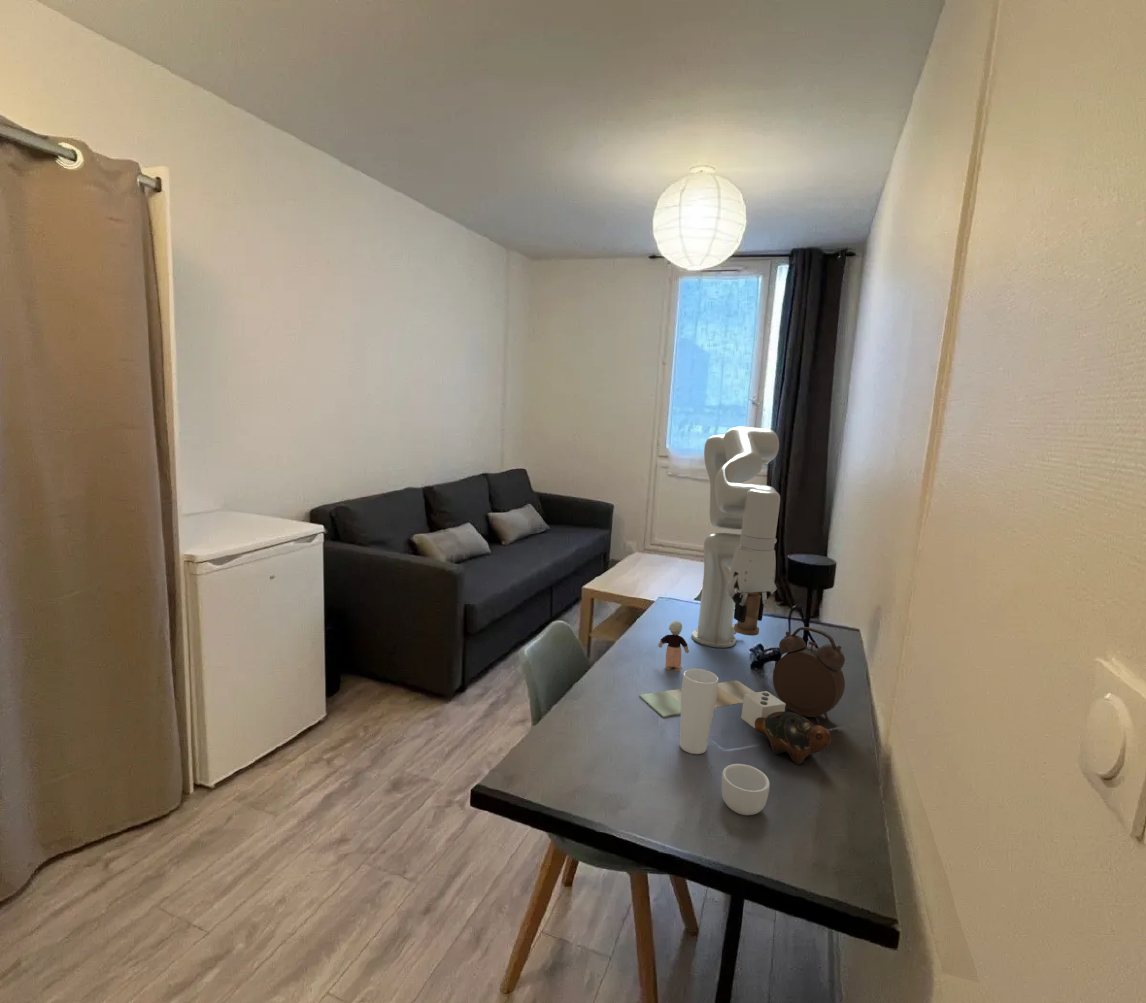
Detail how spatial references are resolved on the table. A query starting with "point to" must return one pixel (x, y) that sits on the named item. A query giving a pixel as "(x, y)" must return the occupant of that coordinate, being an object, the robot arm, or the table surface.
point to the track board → (671, 700)
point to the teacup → (744, 788)
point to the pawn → (750, 616)
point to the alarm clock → (809, 675)
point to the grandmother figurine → (674, 646)
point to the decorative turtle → (793, 734)
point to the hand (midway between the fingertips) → (747, 618)
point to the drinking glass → (697, 709)
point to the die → (760, 706)
